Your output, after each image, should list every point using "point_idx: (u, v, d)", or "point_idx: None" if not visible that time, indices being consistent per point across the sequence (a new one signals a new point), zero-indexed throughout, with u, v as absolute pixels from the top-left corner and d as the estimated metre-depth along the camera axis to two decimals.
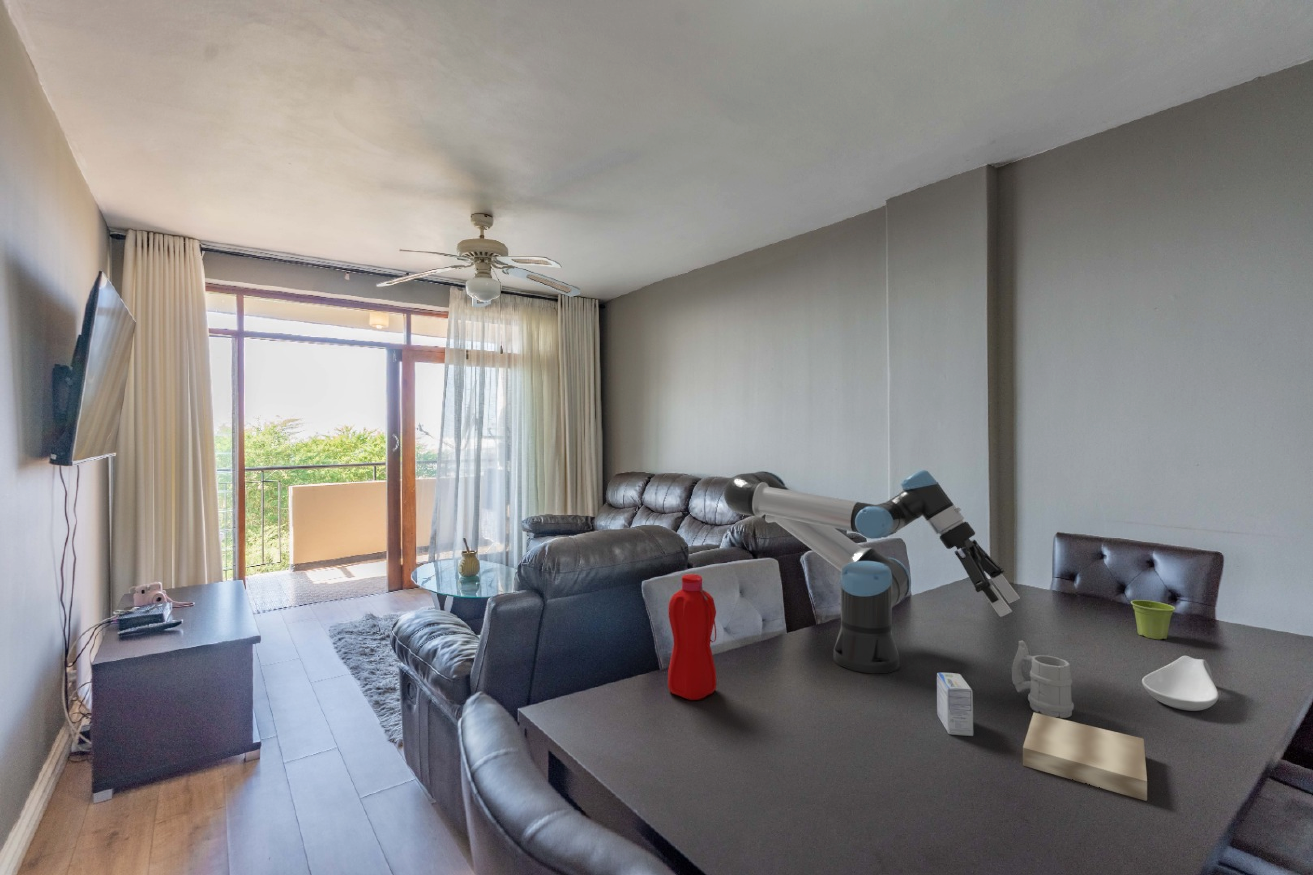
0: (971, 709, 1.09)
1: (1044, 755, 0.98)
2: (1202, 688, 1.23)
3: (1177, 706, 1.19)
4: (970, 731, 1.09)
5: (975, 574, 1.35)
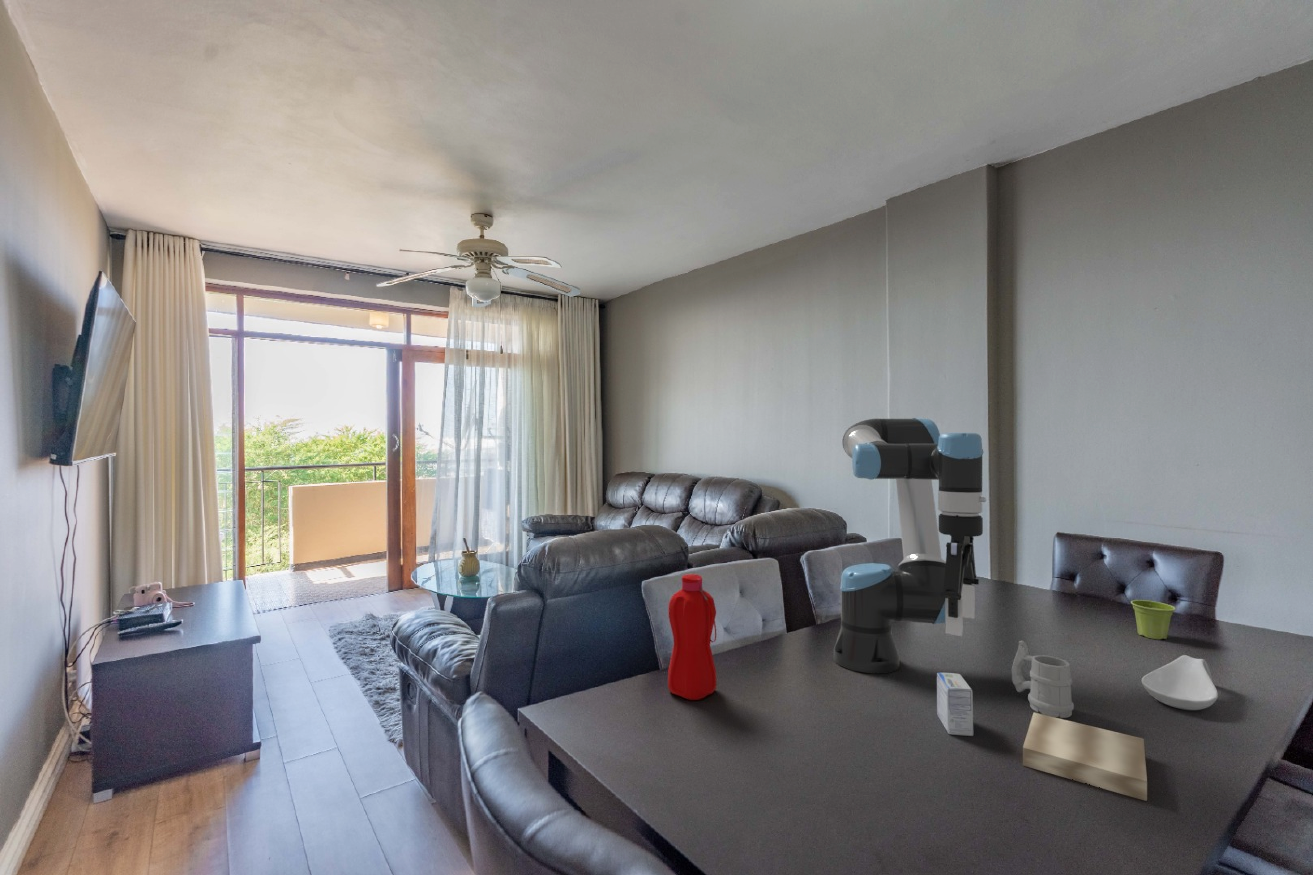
0: (971, 709, 1.09)
1: (1044, 755, 0.98)
2: (1201, 687, 1.23)
3: (1177, 705, 1.19)
4: (970, 731, 1.09)
5: (953, 580, 1.06)
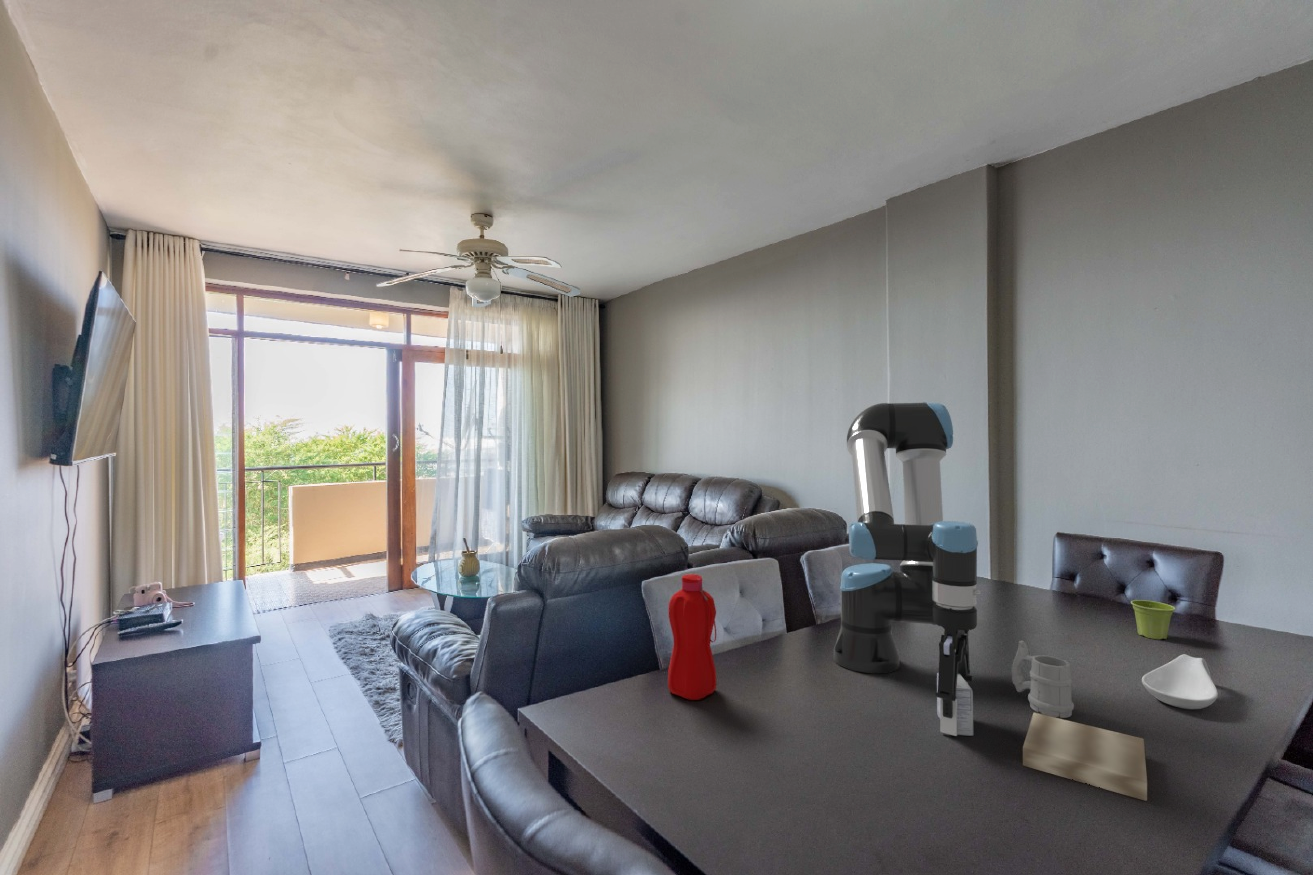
0: (971, 709, 1.09)
1: (1044, 755, 0.98)
2: (1201, 687, 1.23)
3: (1177, 705, 1.20)
4: (970, 731, 1.09)
5: (946, 682, 1.07)
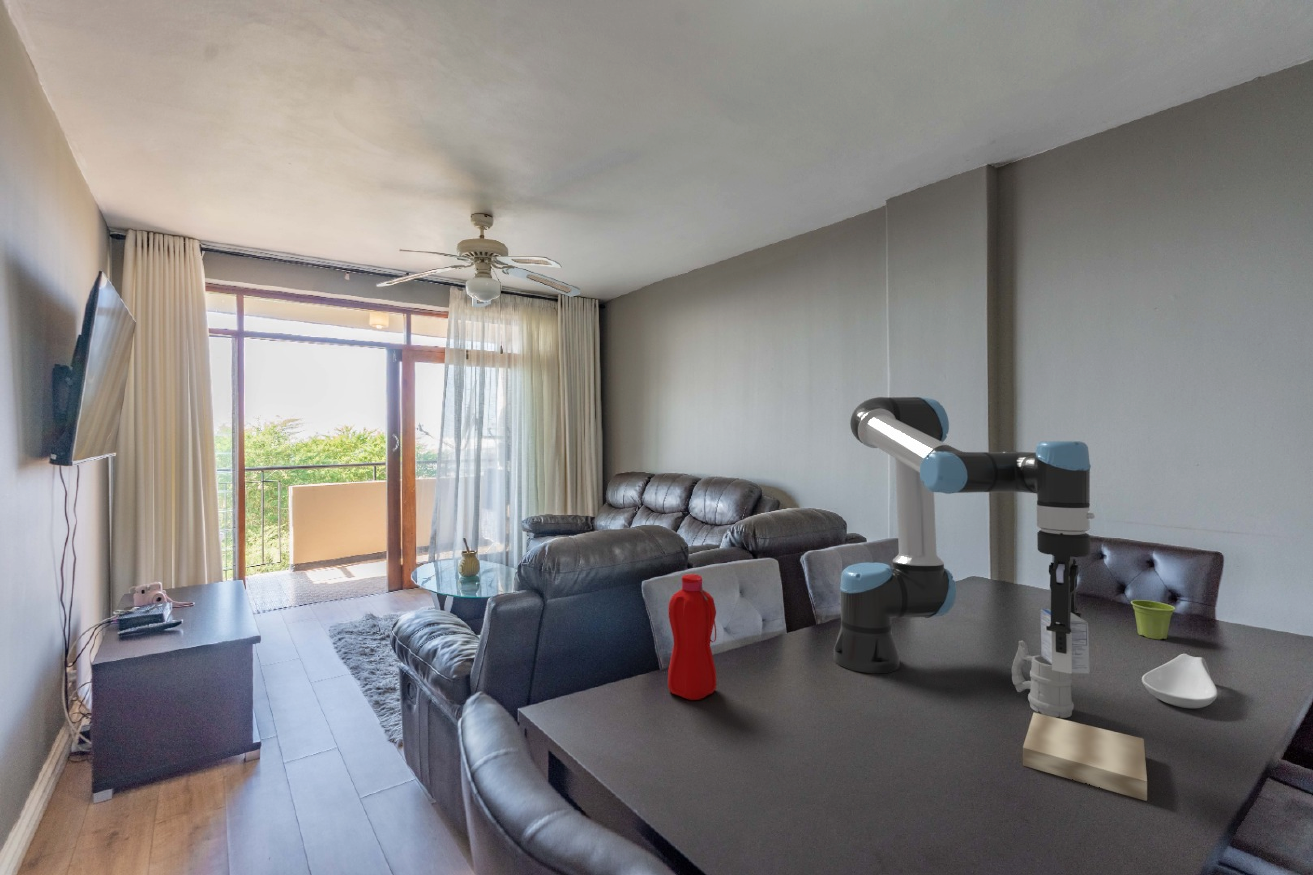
0: (1087, 644, 0.98)
1: (1044, 755, 0.98)
2: (1201, 686, 1.24)
3: (1177, 704, 1.20)
4: (1086, 668, 0.98)
5: (1061, 612, 0.96)
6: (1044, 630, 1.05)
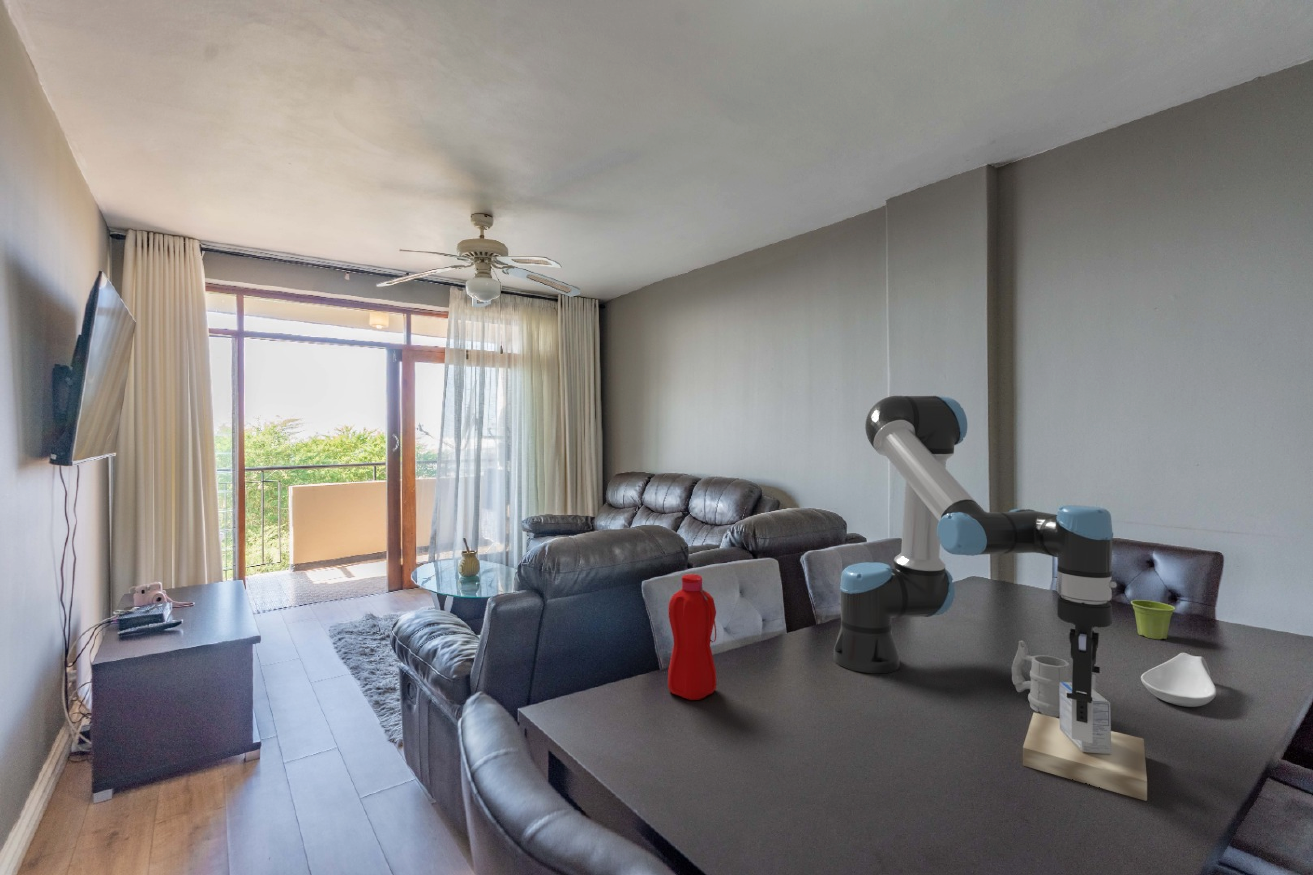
0: (1109, 724, 0.97)
1: (1044, 755, 0.98)
2: (1200, 684, 1.24)
3: (1175, 702, 1.21)
4: (1108, 749, 0.97)
5: (1083, 681, 0.94)
6: (1063, 705, 1.04)
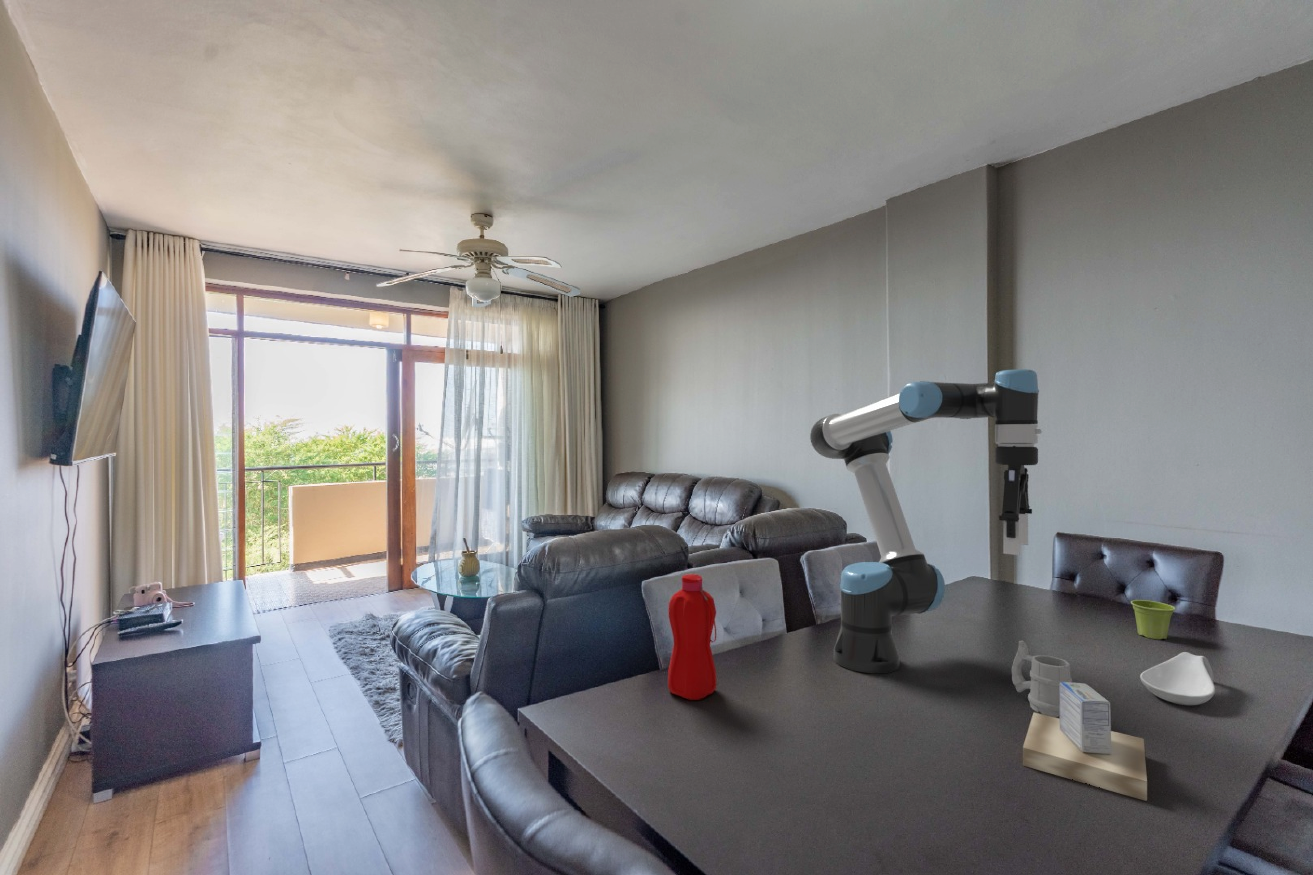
0: (1109, 724, 0.97)
1: (1044, 755, 0.98)
2: (1200, 683, 1.25)
3: (1173, 700, 1.21)
4: (1108, 749, 0.97)
5: (1011, 503, 1.15)
6: (1063, 705, 1.04)
